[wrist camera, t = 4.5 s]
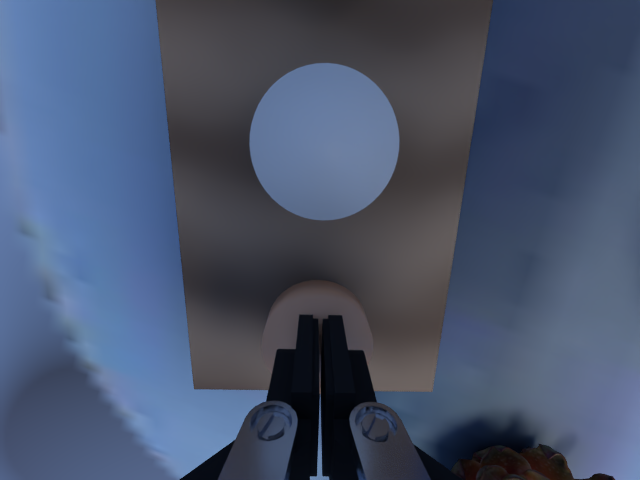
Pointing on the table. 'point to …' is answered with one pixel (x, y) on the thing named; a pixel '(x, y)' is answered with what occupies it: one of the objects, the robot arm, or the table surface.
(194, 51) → the button panel
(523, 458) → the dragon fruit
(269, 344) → the terracotta button
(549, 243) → the table surface
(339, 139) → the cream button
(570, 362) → the table surface
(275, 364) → the robot arm
